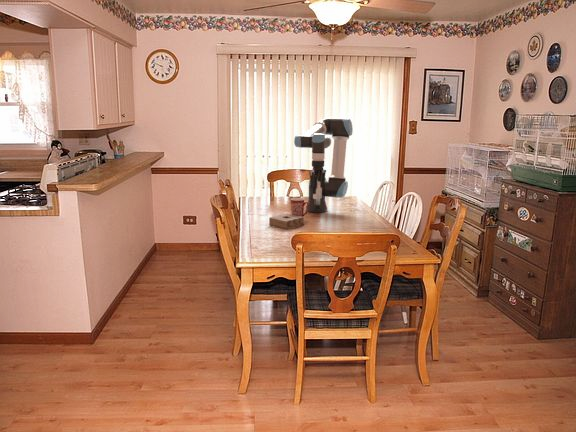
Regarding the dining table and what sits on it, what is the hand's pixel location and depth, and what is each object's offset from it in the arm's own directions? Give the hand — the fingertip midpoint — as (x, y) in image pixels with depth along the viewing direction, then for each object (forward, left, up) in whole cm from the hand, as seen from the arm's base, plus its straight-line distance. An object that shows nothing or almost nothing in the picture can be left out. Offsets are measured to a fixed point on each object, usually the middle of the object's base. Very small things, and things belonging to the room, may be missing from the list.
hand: (317, 198), depth 289 cm
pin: (0, 0, -4) cm, 4 cm away
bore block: (+13, -13, -17) cm, 25 cm away
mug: (-4, -17, -17) cm, 24 cm away
